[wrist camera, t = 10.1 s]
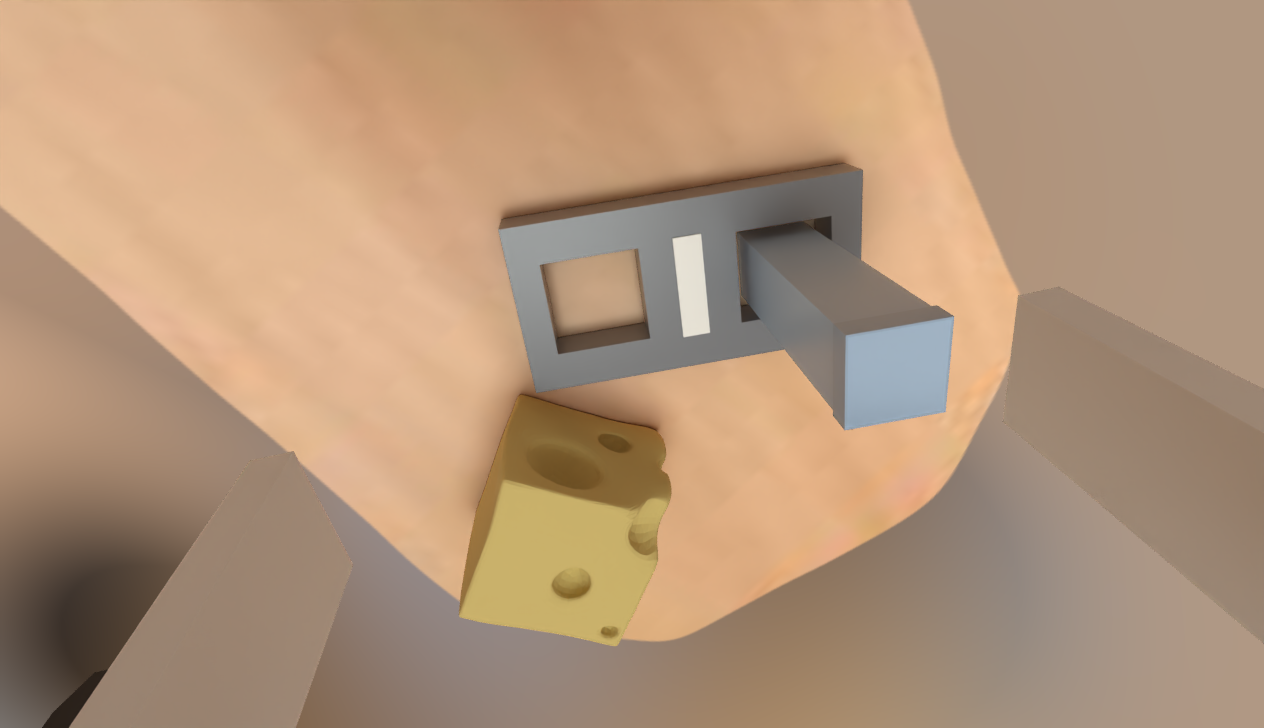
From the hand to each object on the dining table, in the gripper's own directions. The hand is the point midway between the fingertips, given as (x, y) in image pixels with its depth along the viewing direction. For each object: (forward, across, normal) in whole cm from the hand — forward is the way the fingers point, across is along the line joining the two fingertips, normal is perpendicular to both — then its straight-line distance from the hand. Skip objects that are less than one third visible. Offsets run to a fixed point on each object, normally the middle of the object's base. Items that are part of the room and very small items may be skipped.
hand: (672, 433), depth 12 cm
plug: (+27, +10, -8) cm, 30 cm away
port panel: (+27, +4, -8) cm, 28 cm away
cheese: (+27, -6, -20) cm, 34 cm away
